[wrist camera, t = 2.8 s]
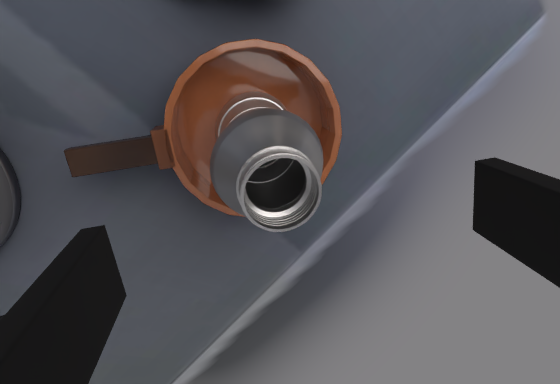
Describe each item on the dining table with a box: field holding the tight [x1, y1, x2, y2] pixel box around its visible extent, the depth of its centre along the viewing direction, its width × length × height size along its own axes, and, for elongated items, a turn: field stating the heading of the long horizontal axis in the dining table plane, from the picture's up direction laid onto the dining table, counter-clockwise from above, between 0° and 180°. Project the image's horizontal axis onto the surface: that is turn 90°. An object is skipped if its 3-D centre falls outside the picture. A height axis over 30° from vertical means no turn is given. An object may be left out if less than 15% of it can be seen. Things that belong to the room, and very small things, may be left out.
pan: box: [164, 39, 342, 217], centre depth 34 cm, size 14×14×5 cm
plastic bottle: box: [210, 92, 323, 232], centre depth 26 cm, size 6×7×20 cm
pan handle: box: [64, 125, 176, 177], centre depth 32 cm, size 8×3×3 cm, turn 98°
